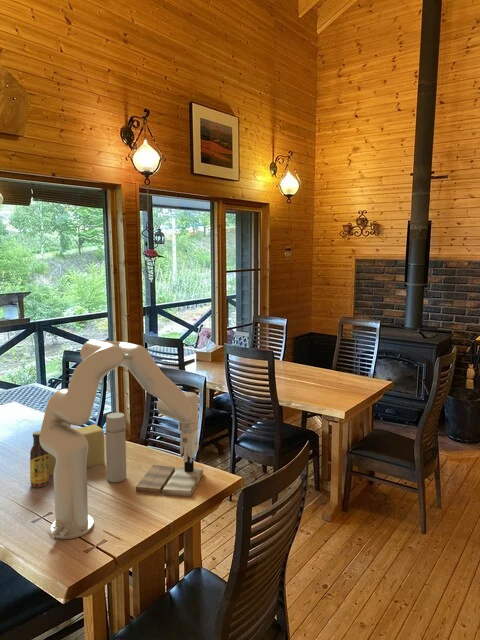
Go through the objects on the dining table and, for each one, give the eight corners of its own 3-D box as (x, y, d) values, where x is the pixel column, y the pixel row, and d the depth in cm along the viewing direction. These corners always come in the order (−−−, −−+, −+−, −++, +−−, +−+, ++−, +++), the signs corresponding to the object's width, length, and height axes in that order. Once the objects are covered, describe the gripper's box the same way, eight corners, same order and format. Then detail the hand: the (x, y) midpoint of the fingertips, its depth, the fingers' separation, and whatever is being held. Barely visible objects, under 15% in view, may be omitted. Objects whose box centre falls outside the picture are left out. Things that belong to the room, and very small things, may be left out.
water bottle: (122, 484, 176) (120, 419, 173) (102, 482, 178) (100, 417, 174) (132, 473, 185) (131, 411, 182) (113, 471, 186) (112, 410, 183)
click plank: (190, 496, 167) (190, 491, 167) (163, 494, 169) (163, 489, 169) (203, 473, 185) (202, 468, 185) (178, 471, 187) (178, 467, 186)
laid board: (159, 494, 169) (159, 488, 169) (135, 491, 171) (135, 486, 170) (174, 471, 187) (174, 466, 187) (153, 469, 188) (152, 464, 188)
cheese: (50, 480, 179) (48, 442, 177) (41, 471, 186) (39, 434, 184) (105, 464, 193) (104, 429, 191) (96, 456, 200) (94, 422, 198)
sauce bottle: (35, 490, 171) (32, 437, 169) (27, 484, 175) (24, 433, 173) (52, 484, 176) (50, 432, 173) (44, 478, 180) (42, 428, 178)
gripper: (192, 433, 172) (193, 481, 175) (202, 419, 187) (203, 463, 189) (172, 431, 173) (173, 479, 176) (184, 417, 188) (185, 462, 191)
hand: (189, 471), depth 183 cm, fingers closed
